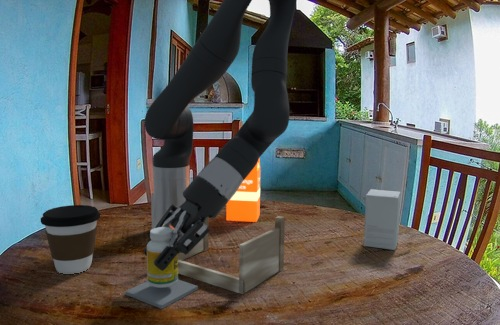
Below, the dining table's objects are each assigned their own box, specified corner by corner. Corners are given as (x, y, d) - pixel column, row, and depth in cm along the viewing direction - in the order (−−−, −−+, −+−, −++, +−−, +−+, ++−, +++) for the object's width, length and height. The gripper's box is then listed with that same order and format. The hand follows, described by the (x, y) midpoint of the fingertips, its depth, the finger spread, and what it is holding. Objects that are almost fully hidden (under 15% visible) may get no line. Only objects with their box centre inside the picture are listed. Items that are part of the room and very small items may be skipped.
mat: (125, 294, 75) (125, 291, 75) (162, 277, 82) (162, 274, 82) (161, 308, 70) (161, 305, 70) (198, 289, 77) (198, 286, 77)
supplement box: (398, 241, 105) (402, 191, 103) (395, 251, 98) (398, 197, 96) (368, 237, 108) (370, 188, 106) (362, 246, 101) (365, 194, 99)
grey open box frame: (159, 267, 87) (158, 215, 85) (203, 248, 98) (203, 201, 97) (244, 294, 75) (244, 234, 73) (283, 269, 87) (284, 217, 85)
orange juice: (231, 213, 129) (231, 147, 126) (260, 214, 127) (261, 148, 124) (226, 220, 121) (226, 150, 118) (256, 222, 120) (257, 151, 117)
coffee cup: (59, 258, 91) (56, 203, 89) (110, 259, 91) (108, 204, 89) (32, 279, 80) (28, 218, 79) (89, 280, 80) (86, 219, 78)
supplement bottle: (147, 277, 78) (145, 226, 76) (177, 274, 79) (175, 224, 78) (148, 290, 73) (146, 235, 71) (179, 286, 74) (178, 233, 72)
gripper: (185, 168, 83) (125, 237, 79) (218, 181, 71) (149, 263, 66) (209, 192, 86) (154, 259, 82) (245, 208, 74) (182, 288, 70)
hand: (152, 261), depth 74 cm, fingers closed on supplement bottle, 5 cm apart
